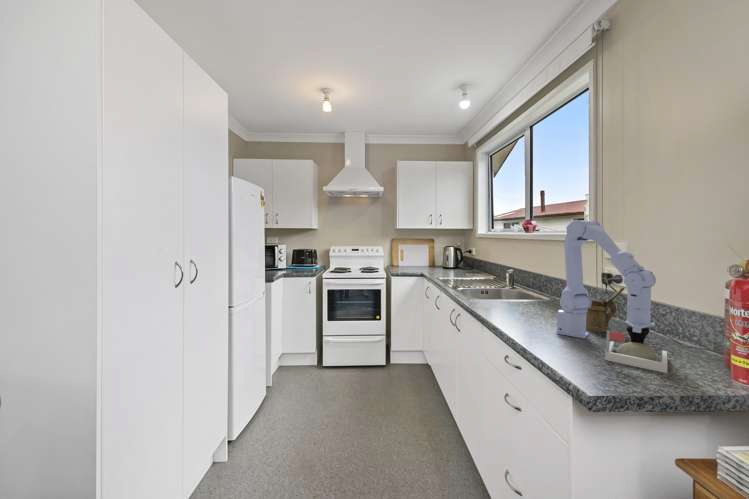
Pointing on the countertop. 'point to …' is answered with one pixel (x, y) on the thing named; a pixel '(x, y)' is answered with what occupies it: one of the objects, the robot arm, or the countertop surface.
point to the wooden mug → (601, 314)
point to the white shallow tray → (630, 359)
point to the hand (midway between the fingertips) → (637, 349)
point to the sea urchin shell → (637, 350)
